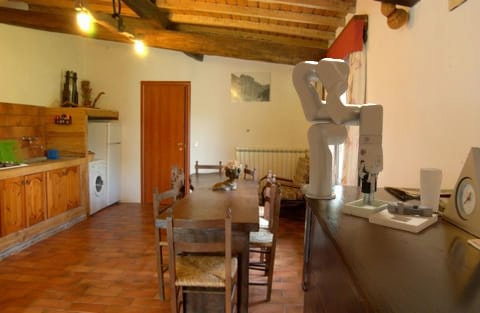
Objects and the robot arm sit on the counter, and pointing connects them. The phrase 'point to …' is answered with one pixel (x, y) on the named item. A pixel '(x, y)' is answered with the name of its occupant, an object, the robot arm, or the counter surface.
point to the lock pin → (369, 198)
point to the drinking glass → (430, 187)
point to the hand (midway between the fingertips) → (368, 191)
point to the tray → (365, 208)
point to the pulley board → (405, 216)
